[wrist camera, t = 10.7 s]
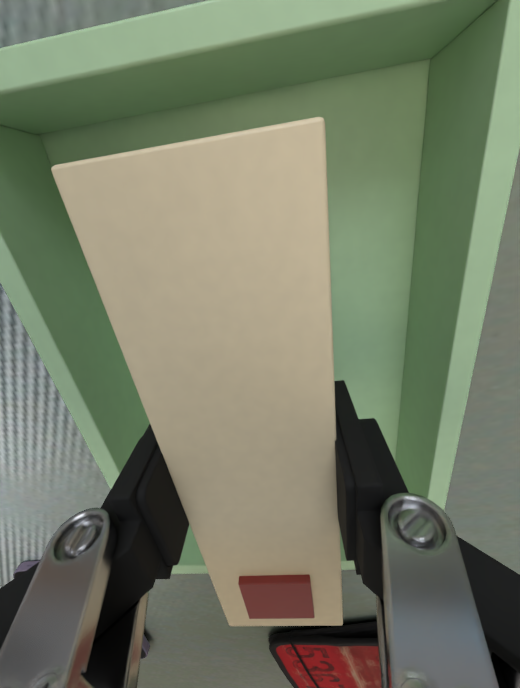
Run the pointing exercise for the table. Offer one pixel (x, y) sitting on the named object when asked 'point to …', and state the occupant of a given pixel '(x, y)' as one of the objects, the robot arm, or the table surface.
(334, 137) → the bin
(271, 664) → the table surface
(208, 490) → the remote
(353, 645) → the binder
